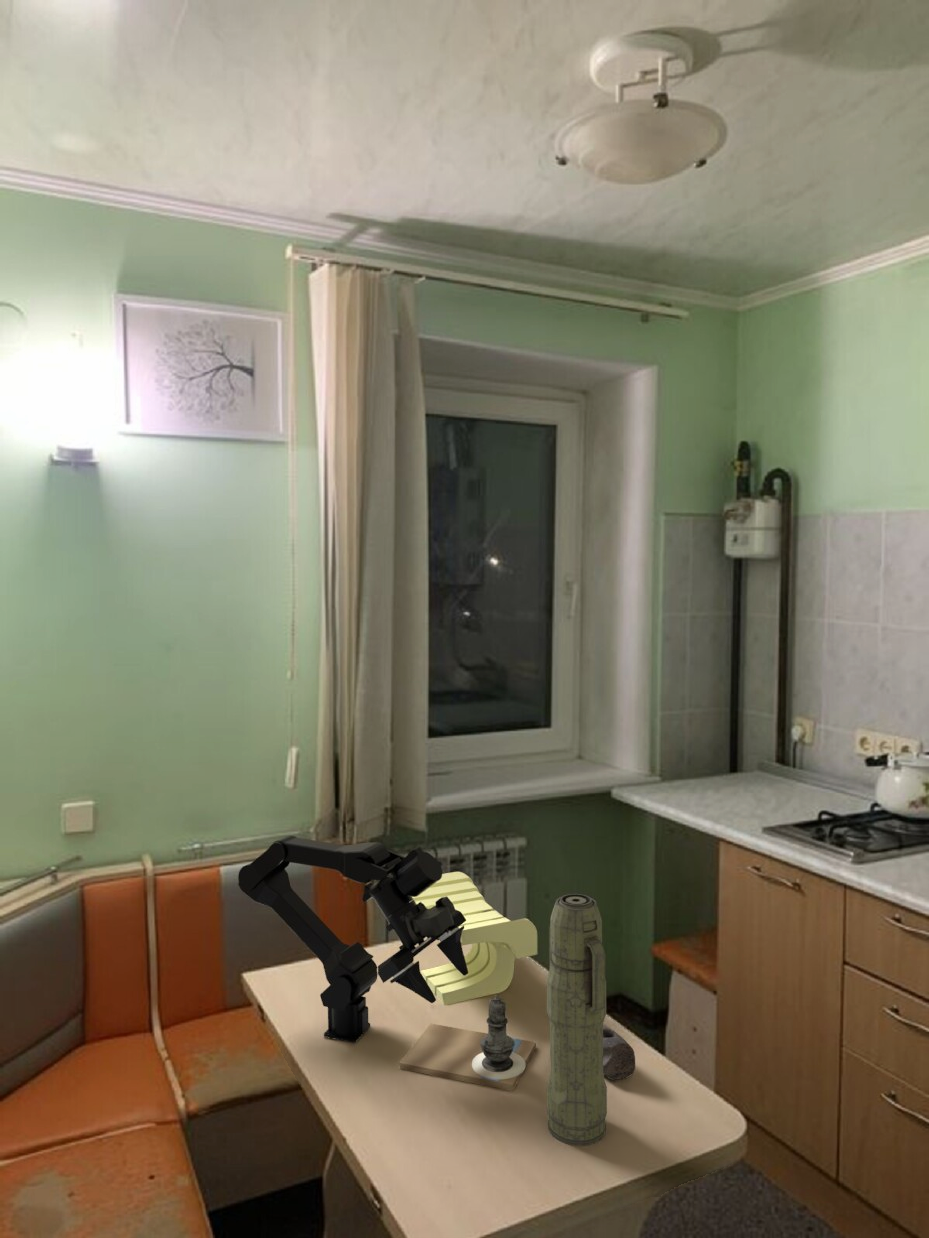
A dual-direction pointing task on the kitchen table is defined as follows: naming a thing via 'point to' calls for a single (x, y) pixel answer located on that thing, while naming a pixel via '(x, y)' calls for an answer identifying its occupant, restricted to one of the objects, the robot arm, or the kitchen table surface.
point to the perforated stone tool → (617, 1055)
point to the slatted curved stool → (477, 943)
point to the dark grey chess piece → (497, 1039)
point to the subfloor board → (463, 1057)
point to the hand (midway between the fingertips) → (450, 987)
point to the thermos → (576, 1022)
